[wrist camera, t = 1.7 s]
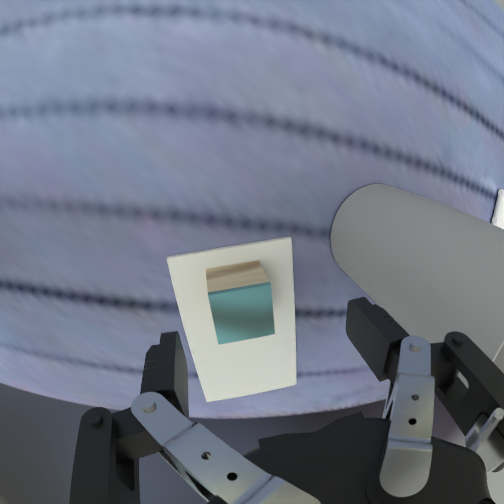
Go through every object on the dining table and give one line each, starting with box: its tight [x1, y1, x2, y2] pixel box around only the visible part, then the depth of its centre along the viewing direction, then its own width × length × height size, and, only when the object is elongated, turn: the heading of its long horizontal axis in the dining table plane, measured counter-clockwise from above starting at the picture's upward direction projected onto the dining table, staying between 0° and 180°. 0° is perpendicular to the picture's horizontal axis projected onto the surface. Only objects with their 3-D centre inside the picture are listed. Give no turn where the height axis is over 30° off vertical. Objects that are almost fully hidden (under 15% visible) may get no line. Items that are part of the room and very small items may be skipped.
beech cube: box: [205, 260, 275, 345], centre depth 32 cm, size 6×6×6 cm
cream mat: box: [167, 236, 296, 402], centre depth 37 cm, size 24×14×1 cm, turn 6°
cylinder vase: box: [330, 184, 504, 388], centre depth 24 cm, size 12×12×25 cm
